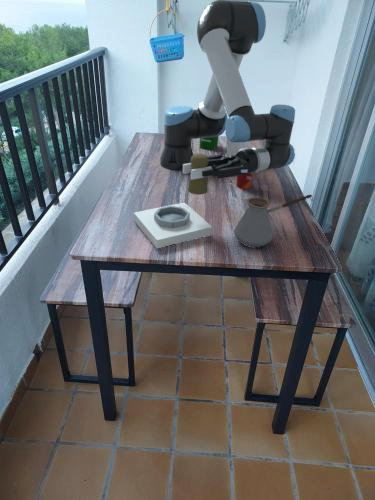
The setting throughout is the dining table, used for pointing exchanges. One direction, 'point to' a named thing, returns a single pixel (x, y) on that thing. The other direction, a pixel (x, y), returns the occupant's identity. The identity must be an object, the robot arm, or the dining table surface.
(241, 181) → the paper cup
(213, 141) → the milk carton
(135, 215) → the base plate
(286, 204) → the coffee pot
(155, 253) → the dining table surface
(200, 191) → the cork
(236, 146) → the jar
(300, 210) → the dining table surface
